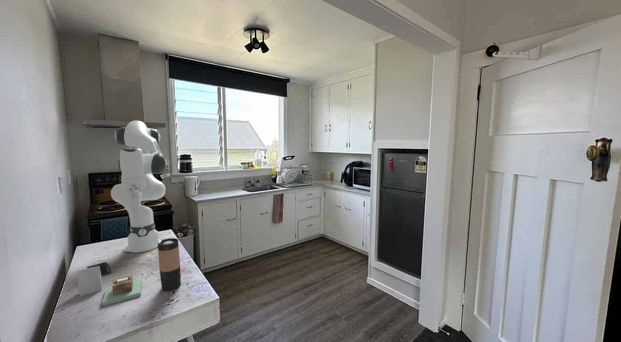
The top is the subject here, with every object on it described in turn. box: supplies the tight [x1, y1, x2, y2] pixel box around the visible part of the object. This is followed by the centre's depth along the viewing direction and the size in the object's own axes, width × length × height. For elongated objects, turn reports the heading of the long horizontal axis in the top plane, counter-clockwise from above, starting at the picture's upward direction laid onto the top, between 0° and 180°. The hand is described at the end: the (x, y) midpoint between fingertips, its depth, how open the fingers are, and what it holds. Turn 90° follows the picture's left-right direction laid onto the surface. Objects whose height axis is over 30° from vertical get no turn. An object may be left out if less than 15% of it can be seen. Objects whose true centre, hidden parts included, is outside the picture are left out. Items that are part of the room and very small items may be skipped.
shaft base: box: [101, 277, 143, 307], centre depth 102 cm, size 12×12×6 cm
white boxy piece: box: [77, 266, 103, 297], centre depth 103 cm, size 4×7×10 cm, turn 128°
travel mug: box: [157, 237, 182, 292], centre depth 105 cm, size 8×8×20 cm
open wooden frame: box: [111, 274, 134, 296], centre depth 102 cm, size 6×6×4 cm
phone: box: [86, 261, 112, 278], centre depth 120 cm, size 8×1×15 cm
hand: (136, 214), depth 113 cm, fingers open, 8 cm apart
